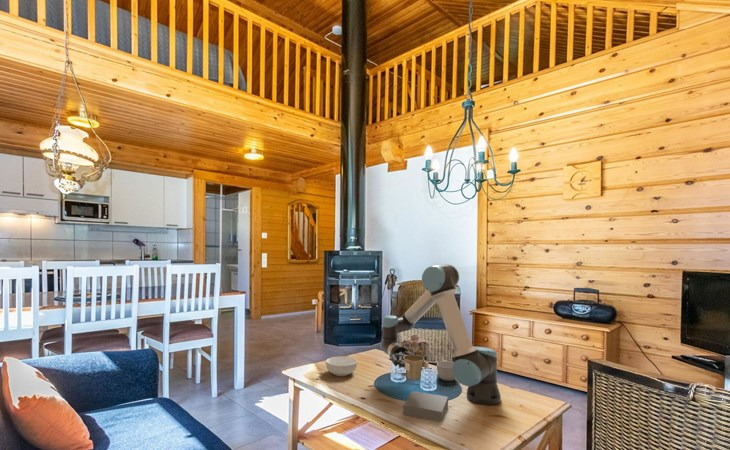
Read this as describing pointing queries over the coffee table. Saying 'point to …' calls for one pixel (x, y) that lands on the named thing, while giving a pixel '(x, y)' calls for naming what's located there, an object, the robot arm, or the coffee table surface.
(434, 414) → the plinth
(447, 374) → the teacup
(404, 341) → the decorative jar
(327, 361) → the cereal bowl
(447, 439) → the coffee table surface
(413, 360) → the flower pot
